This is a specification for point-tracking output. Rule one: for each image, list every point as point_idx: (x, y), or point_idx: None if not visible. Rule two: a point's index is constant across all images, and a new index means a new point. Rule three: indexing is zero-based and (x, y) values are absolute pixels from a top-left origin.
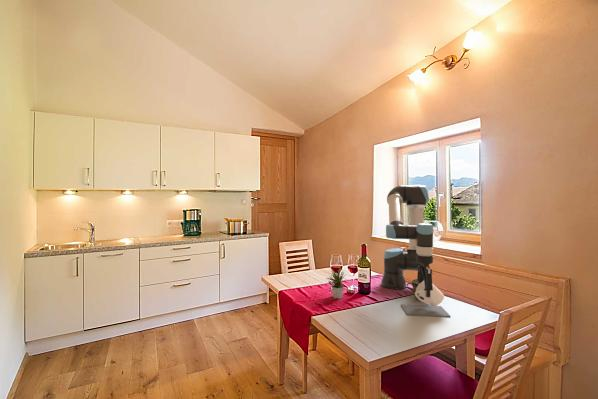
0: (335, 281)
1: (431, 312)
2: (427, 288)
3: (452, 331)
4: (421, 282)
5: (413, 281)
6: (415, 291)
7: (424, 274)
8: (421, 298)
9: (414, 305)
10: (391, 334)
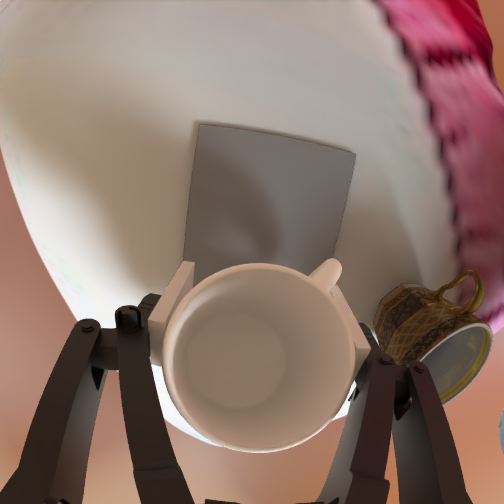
0: None
1: None
2: (74, 331)
3: (57, 269)
4: (347, 379)
5: (484, 334)
6: (425, 303)
7: (142, 490)
8: (384, 310)
9: (328, 233)
10: (46, 31)
